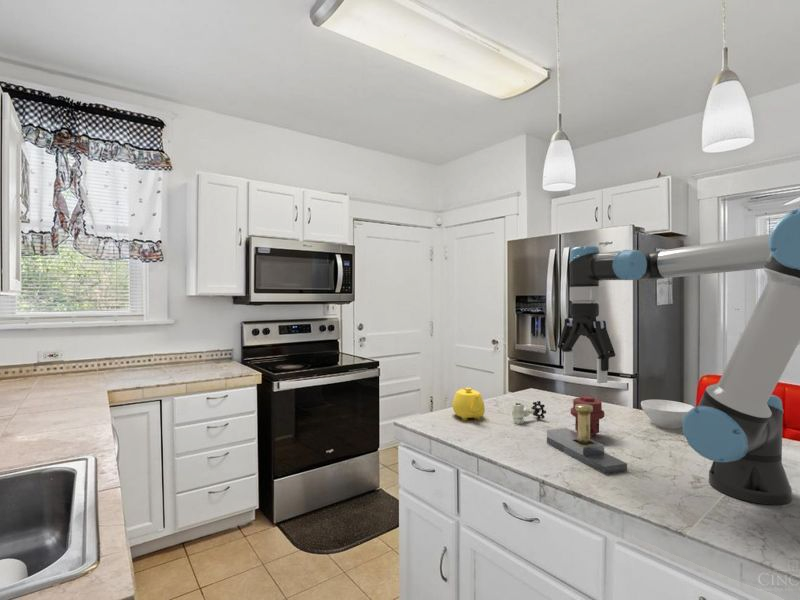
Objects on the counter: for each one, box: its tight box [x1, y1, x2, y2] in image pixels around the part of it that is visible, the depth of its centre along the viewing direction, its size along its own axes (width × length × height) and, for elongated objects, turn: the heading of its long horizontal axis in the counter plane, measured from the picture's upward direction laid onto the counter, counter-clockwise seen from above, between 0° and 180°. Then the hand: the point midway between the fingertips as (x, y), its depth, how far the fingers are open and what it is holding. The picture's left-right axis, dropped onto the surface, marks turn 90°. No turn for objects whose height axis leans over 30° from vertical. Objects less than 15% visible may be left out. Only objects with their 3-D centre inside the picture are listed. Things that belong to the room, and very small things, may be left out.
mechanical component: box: [570, 395, 605, 439], centre depth 141 cm, size 12×10×10 cm
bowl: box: [640, 399, 695, 430], centre depth 151 cm, size 16×16×7 cm
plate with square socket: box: [546, 427, 628, 475], centre depth 124 cm, size 24×7×4 cm, turn 17°
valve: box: [511, 400, 547, 425], centre depth 157 cm, size 7×7×12 cm
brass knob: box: [575, 404, 593, 445], centre depth 124 cm, size 5×5×14 cm
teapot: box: [452, 387, 486, 421], centre depth 162 cm, size 18×11×11 cm, turn 13°
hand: (584, 378), depth 123 cm, fingers open, 13 cm apart
